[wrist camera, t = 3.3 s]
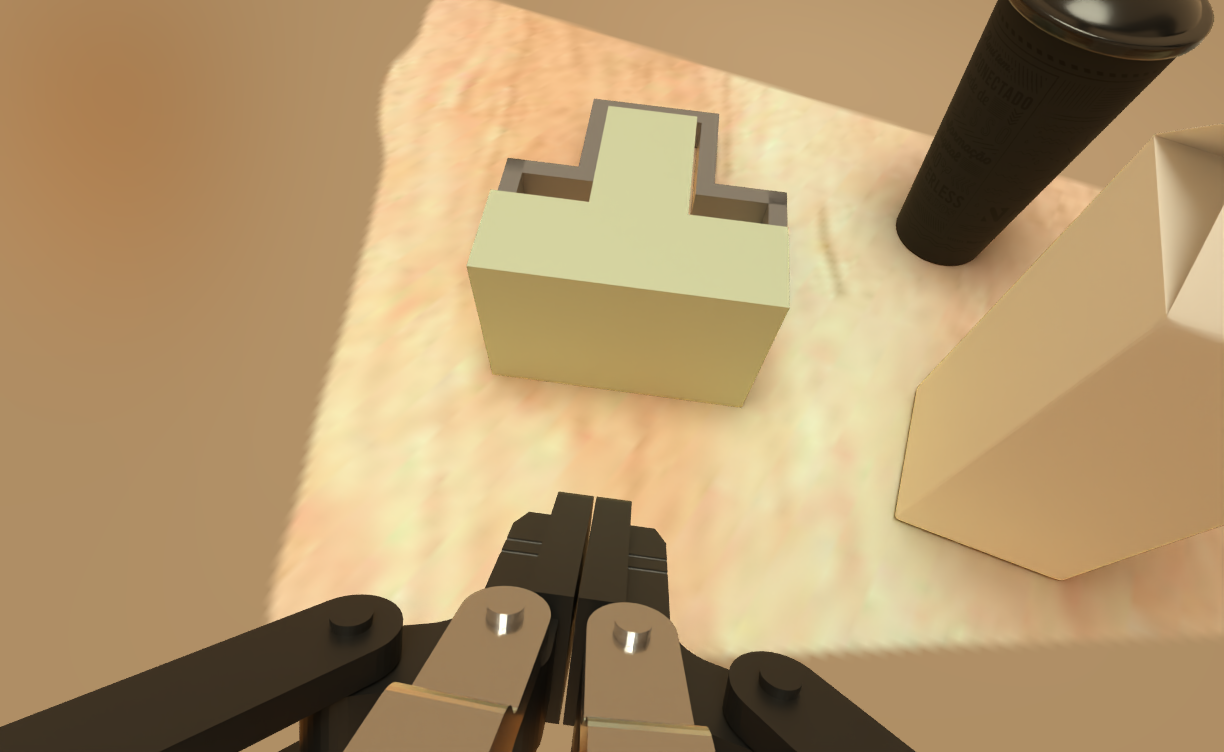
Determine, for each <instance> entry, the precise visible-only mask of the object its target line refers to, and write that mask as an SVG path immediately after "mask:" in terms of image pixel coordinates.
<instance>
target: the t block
mask: <svg viewBox="0 0 1224 752" xmlns="http://www.w3.org/2000/svg"><path fill="white" fill-rule="evenodd" d="M696 125H697V117H696V116H688V115H680V114H672V113H663V112H655V111H647V110H639V109H631V108H622V107H614V106H608V111H607V116H606V121H605V126H604V131H603V136H602V140H601V145H600V150H599V155H598V160H597V165H596V170H595V175H594V180H593V185H592V190H591V195H590V200H589V202H585V201H578V200H570V199H562V198H554V197H546V196H538V195H530V194H522V193H514V192H506V191H498V190H490V193H489V196H488V199H487V203H486V206H485V209H484V212H483V215H482V218H481V222H480V225H479V228H478V231H477V234H476V237H475V241H474V244H473V247H472V250H471V253H470V256H469V260H468V263H467V270H468V274H469V278H470V283H471V287H472V291H473V295H474V299H475V303H476V308H477V312H478V316H479V320H480V324H481V328H482V333H483V337H484V341H485V345H486V349H487V353H488V358H489V362H490V366H491V370H492V374H495V375H502V376H510V377H517V378H525V379H532V380H539V381H547V382H554V383H562V384H569V385H577V386H584V387H592V388H599V389H607V390H614V391H622V392H629V393H636V394H644V395H651V396H659V397H666V398H674V399H681V400H689V401H696V402H704V403H711V404H718V405H726V406H733V407H742V405H743V403H744V401H745V399H746V397H747V395H748V393H749V391H750V389H751V387H752V384H753V382H754V380H755V378H756V376H757V374H758V372H759V370H760V368H761V366H762V364H763V362H764V360H765V358H766V356H767V353H768V351H769V349H770V347H771V345H772V343H773V341H774V339H775V337H776V335H777V333H778V331H779V329H780V327H781V325H782V322H783V320H784V318H785V316H786V314H787V312H788V310H789V308H790V303H789V242H788V227H784V226H776V225H768V224H760V223H752V222H744V221H736V220H728V219H720V218H712V217H704V216H697V215H689V214H688V211H689V201H690V190H691V179H692V168H693V157H694V146H695V136H696Z"/></svg>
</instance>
